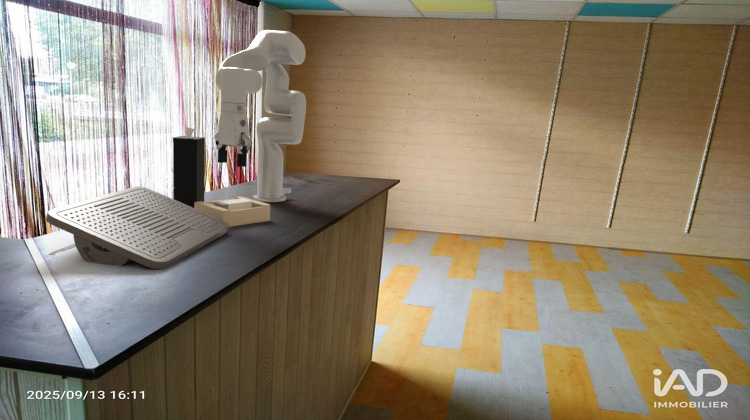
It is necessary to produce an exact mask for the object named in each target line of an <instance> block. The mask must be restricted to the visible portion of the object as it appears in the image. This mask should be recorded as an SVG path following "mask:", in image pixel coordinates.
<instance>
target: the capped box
mask: <svg viewBox="0 0 750 420" xmlns="http://www.w3.org/2000/svg"><path fill="white" fill-rule="evenodd" d="M232 199H233V200H226V199H224V200H225V201H218V200H216V201H217V202H213V205H215V206H218V207H221V208H225V209H228V210H230V211H234V210H241V209H248V208H252V201H250V200H246V199H243V198H241V199H234V198H232Z"/></svg>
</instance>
